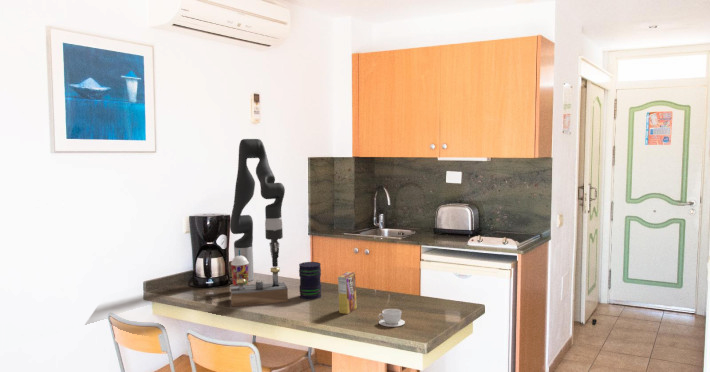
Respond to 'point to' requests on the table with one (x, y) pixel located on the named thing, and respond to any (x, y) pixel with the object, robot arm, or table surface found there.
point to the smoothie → (240, 269)
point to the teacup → (391, 318)
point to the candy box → (347, 292)
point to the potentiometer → (259, 285)
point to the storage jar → (310, 280)
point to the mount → (259, 294)
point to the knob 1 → (241, 283)
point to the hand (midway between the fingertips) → (275, 266)
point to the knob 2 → (275, 275)
